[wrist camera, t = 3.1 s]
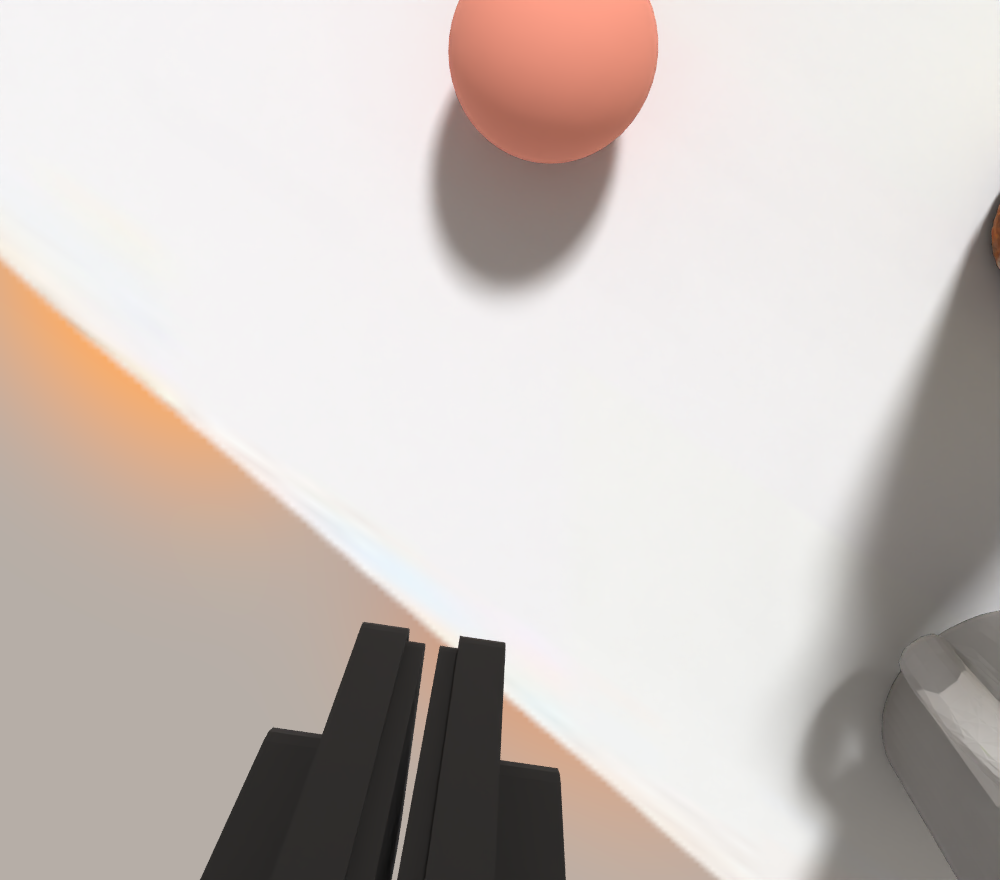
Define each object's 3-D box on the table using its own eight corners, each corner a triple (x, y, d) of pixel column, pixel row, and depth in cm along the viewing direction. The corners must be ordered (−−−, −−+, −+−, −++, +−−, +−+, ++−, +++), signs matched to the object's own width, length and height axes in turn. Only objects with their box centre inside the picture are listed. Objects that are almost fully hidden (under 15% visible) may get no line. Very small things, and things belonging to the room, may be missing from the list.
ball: (624, 176, 28) (647, 180, 22) (447, 148, 28) (424, 145, 22) (661, -24, 26) (696, -76, 20) (471, -54, 26) (453, -113, 20)
